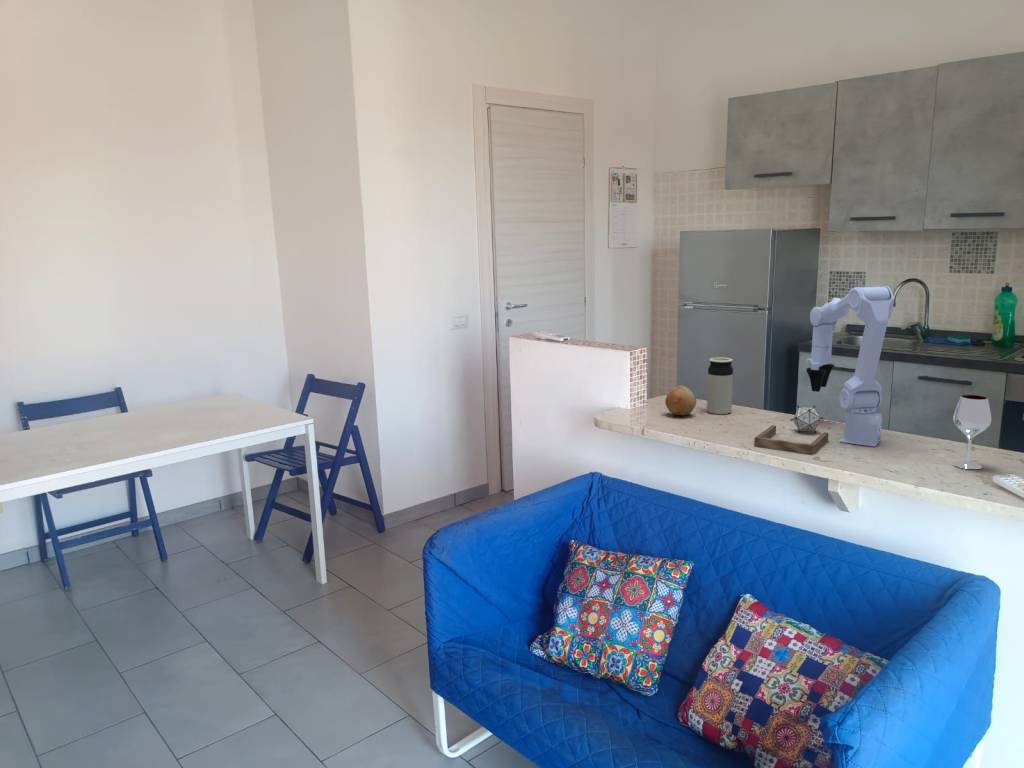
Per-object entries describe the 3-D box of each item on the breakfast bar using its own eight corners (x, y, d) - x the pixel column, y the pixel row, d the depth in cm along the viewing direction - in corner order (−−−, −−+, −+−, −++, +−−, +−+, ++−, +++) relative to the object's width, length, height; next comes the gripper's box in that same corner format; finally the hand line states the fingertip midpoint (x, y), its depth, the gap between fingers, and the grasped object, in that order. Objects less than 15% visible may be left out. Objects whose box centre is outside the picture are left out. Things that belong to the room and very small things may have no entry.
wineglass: (993, 469, 190) (1001, 399, 186) (968, 472, 187) (975, 401, 184) (966, 460, 197) (973, 392, 194) (941, 463, 195) (947, 395, 191)
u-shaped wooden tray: (828, 441, 217) (828, 432, 217) (813, 454, 204) (813, 445, 204) (771, 433, 226) (772, 425, 226) (754, 446, 214) (754, 437, 213)
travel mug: (728, 415, 248) (730, 361, 245) (703, 413, 252) (705, 360, 249) (734, 410, 255) (736, 358, 252) (710, 408, 259) (712, 356, 256)
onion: (698, 419, 245) (699, 388, 243) (667, 419, 246) (668, 389, 244) (693, 412, 255) (694, 382, 253) (663, 412, 255) (663, 383, 253)
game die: (809, 445, 226) (816, 424, 219) (783, 432, 230) (789, 411, 223) (823, 426, 230) (830, 405, 223) (797, 413, 234) (803, 392, 227)
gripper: (814, 341, 242) (811, 383, 244) (802, 348, 230) (799, 391, 233) (837, 343, 238) (834, 385, 240) (826, 350, 226) (823, 394, 229)
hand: (818, 388), depth 236 cm, fingers open, 7 cm apart
